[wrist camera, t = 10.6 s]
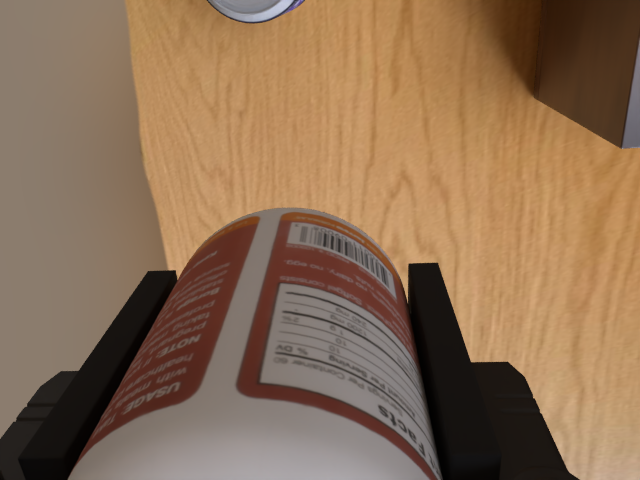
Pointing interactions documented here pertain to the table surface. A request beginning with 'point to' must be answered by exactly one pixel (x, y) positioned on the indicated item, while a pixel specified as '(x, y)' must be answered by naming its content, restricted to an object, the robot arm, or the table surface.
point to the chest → (592, 65)
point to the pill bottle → (274, 365)
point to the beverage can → (254, 9)
